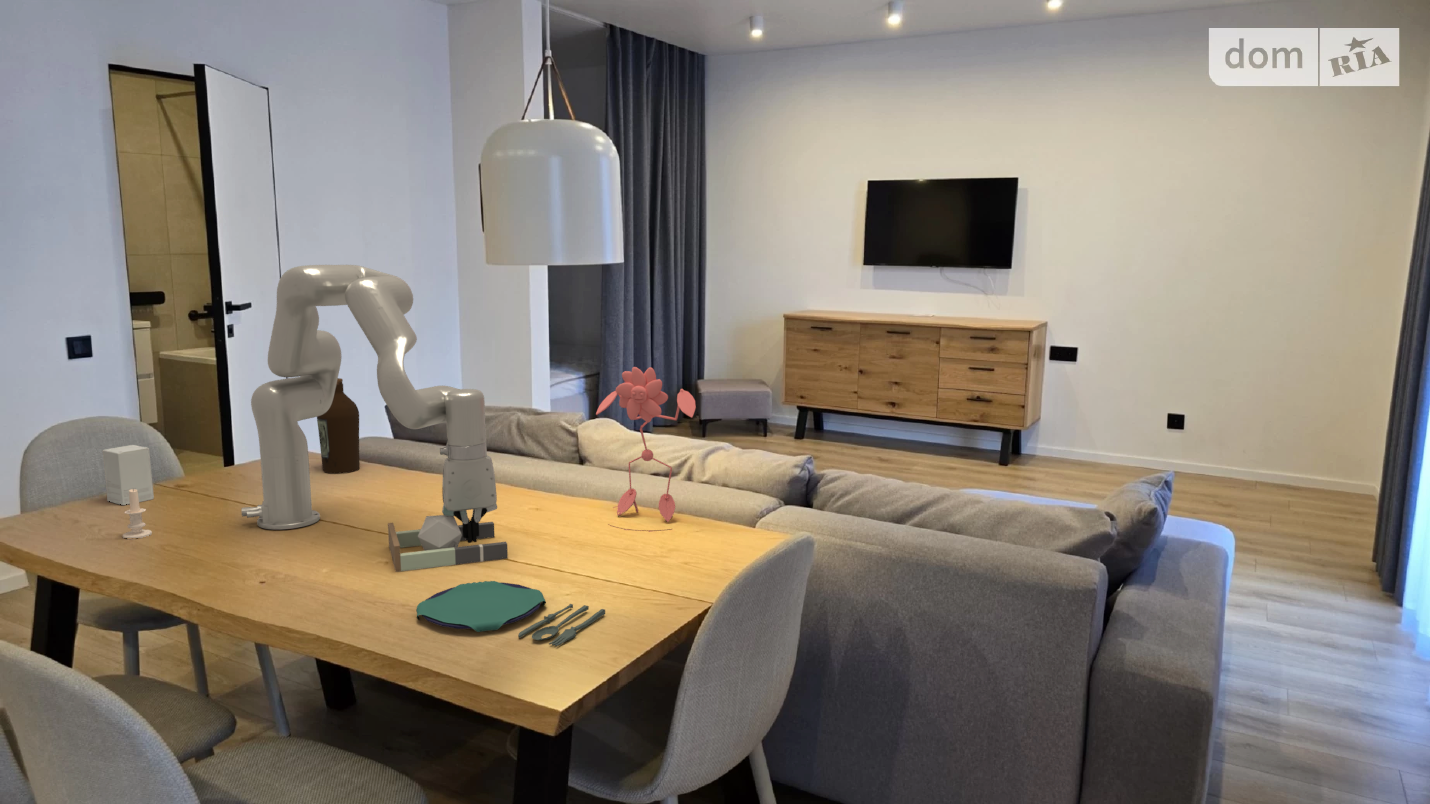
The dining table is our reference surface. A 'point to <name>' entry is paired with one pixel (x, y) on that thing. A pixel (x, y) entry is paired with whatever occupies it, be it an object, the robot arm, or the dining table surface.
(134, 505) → the candle
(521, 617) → the cutlery set
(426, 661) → the dining table surface
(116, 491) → the supplement box
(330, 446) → the olive oil
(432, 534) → the die
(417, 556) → the trap lane
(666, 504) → the figurine
